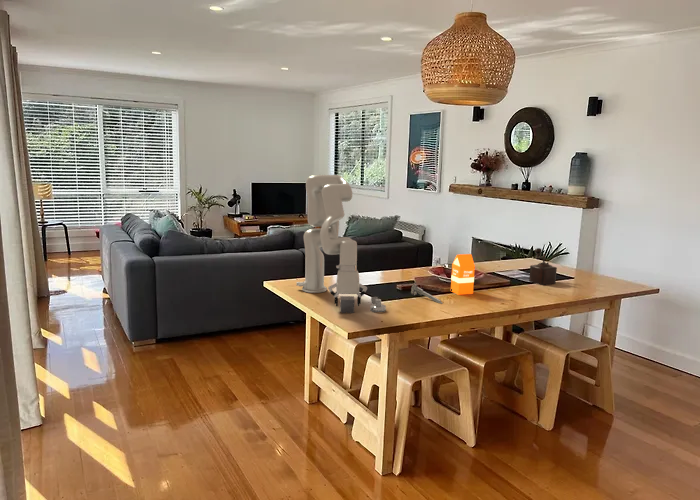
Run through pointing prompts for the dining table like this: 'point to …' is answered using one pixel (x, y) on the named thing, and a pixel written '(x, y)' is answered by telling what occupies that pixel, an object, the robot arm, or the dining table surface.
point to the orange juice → (463, 274)
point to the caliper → (420, 291)
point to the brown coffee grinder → (542, 271)
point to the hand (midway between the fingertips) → (347, 305)
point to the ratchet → (377, 305)
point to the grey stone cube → (347, 304)
